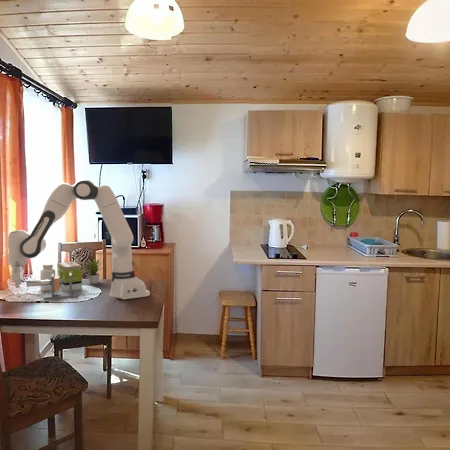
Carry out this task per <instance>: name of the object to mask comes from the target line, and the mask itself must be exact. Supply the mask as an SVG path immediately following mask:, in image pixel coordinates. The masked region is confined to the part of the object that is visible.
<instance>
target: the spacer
mask: <svg viewBox="0 0 450 450" xmlns="http://www.w3.org/2000/svg"><path fill="white" fill-rule="evenodd" d="M60 289H61V287H60V285H59V276H58V275H55V276H54V291H55V292H60Z"/></svg>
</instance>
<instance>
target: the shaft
mask: <svg viewBox="0 0 450 450" xmlns="http://www.w3.org/2000/svg"><path fill="white" fill-rule="evenodd" d="M62 284H63V279H59V285H62ZM46 285H52V282H51V280H41V279H40V280H26V287H27V288H29V287H41V286H46Z"/></svg>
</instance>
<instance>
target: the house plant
mask: <svg viewBox="0 0 450 450" xmlns="http://www.w3.org/2000/svg"><path fill="white" fill-rule="evenodd" d="M88 262H89V263H87V262H84V264H86V265H87V266H83V267H82V269H83V272H85V271H86V270H87V271H88V272H89V273H87V278H88V283H89V284H90V285H94V284H95V285H96V284H99V279H100V273H98V272H99V270H101V269H102V270H103V269H104V267H103V268H100V267H99V266H101V264H102V262H101V258H99V259H97V260H96V259H93V261H91V260H90V259H88Z"/></svg>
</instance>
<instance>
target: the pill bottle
mask: <svg viewBox="0 0 450 450" xmlns="http://www.w3.org/2000/svg"><path fill="white" fill-rule="evenodd" d="M53 267H54V264H53V263H43V264H42V269H41V270H40V272H39V273H40V276H39V277H40V278H39V279H40V280H51V276H52V274H54V276H56V270H55V268H53ZM40 290H41V291H52V285H46V286H40Z"/></svg>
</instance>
